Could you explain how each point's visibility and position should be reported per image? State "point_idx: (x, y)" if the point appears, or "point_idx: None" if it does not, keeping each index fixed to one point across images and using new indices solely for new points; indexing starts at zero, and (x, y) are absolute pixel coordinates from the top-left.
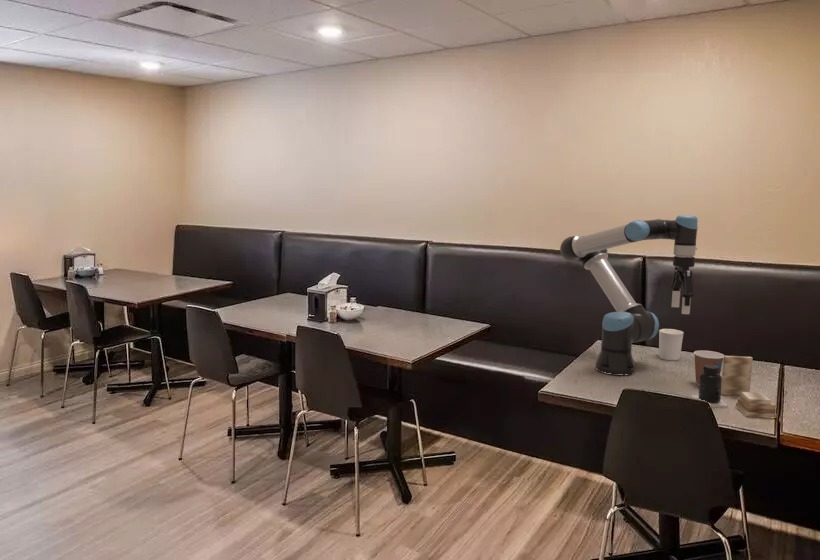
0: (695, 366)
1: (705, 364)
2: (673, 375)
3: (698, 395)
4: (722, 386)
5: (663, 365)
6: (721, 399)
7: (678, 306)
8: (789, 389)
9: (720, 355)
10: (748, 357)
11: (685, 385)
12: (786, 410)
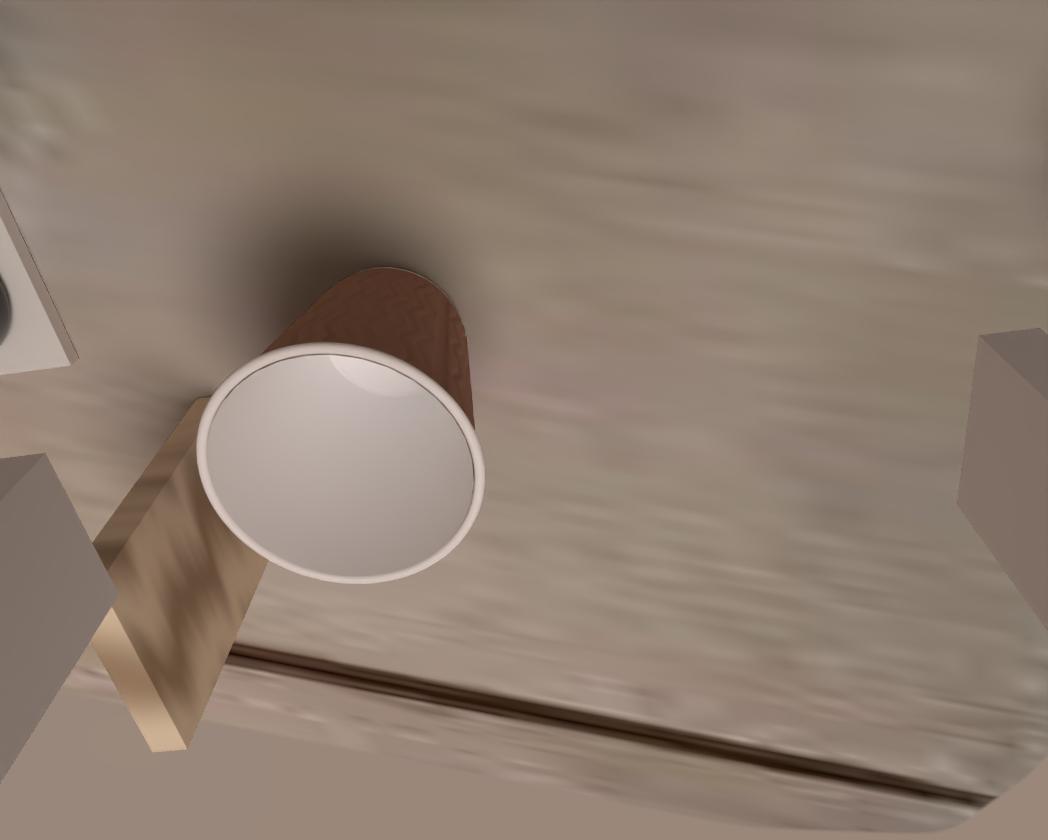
0: (340, 306)
1: (240, 394)
2: (572, 102)
3: (6, 233)
4: (184, 426)
5: (913, 39)
6: (10, 373)
7: (967, 503)
8: (487, 734)
9: (404, 557)
10: (154, 731)
11: (298, 172)
12: None
